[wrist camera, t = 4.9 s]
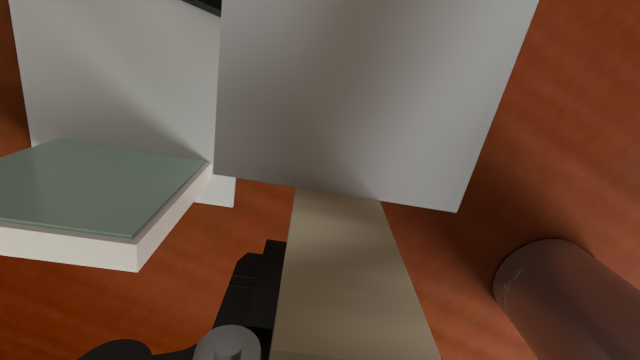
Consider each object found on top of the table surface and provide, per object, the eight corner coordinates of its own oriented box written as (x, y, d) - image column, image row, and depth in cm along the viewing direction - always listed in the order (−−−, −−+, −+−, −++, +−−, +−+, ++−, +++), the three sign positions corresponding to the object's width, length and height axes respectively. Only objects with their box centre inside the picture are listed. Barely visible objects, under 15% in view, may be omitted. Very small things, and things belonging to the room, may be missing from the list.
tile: (211, 160, 26) (136, 241, 15) (210, 180, 27) (137, 272, 16) (56, 135, 25) (-144, 203, 14) (59, 157, 26) (-131, 238, 15)
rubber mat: (253, -33, 22) (252, -34, 21) (233, 205, 28) (232, 207, 28) (0, -85, 21) (-6, -87, 20) (40, 177, 27) (36, 178, 27)
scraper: (545, -69, 7) (1193, -385, 2) (376, 390, 14) (417, 628, 8) (240, -140, 7) (-62, -839, 1) (207, 371, 13) (126, 612, 8)
